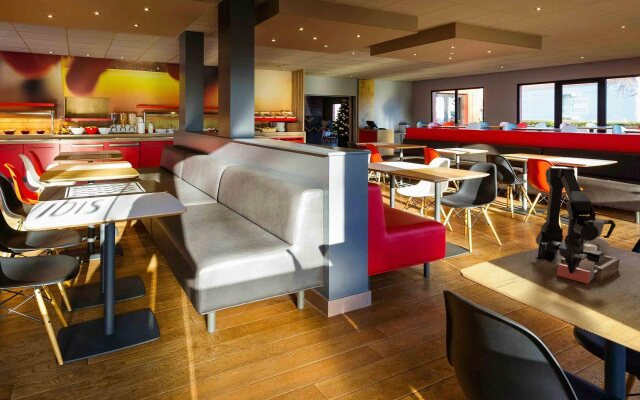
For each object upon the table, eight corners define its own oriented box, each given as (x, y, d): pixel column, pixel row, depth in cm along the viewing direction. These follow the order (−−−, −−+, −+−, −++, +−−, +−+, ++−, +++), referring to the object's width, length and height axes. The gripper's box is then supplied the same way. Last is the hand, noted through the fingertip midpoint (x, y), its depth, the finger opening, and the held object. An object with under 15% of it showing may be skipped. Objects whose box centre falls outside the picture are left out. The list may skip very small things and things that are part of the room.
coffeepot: (573, 253, 201) (578, 214, 198) (570, 247, 210) (575, 210, 206) (614, 258, 196) (619, 217, 193) (608, 251, 205) (614, 212, 201)
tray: (557, 275, 175) (558, 264, 174) (575, 266, 185) (577, 255, 184) (587, 283, 167) (589, 272, 166) (605, 273, 177) (606, 262, 176)
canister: (575, 269, 179) (579, 244, 177) (582, 266, 182) (585, 242, 180) (589, 273, 175) (592, 248, 173) (595, 270, 178) (599, 246, 176)
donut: (610, 262, 191) (613, 239, 189) (607, 263, 189) (610, 240, 187) (584, 256, 199) (587, 234, 197) (581, 257, 196) (584, 235, 194)
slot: (559, 270, 180) (561, 258, 179) (578, 261, 192) (580, 249, 191) (600, 281, 169) (601, 268, 168) (618, 270, 181) (619, 258, 180)
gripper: (540, 231, 168) (536, 271, 172) (595, 242, 154) (589, 286, 158) (554, 226, 175) (549, 264, 179) (607, 237, 161) (602, 278, 164)
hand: (571, 273), depth 170 cm, fingers closed, pressing on tray
